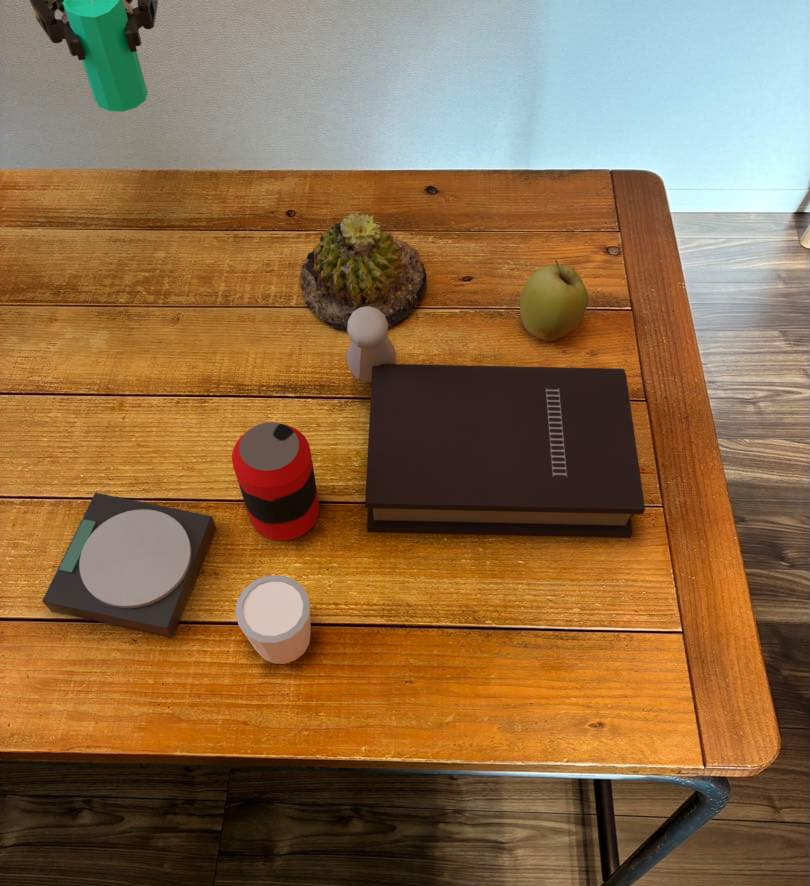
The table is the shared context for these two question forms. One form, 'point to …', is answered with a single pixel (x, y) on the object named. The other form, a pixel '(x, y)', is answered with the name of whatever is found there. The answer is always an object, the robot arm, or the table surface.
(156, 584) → the kitchen scale
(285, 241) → the table surface
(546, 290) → the apple
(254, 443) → the soda can
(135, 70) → the candle
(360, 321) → the salt shaker
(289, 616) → the yogurt cup
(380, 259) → the cactus
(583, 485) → the book
